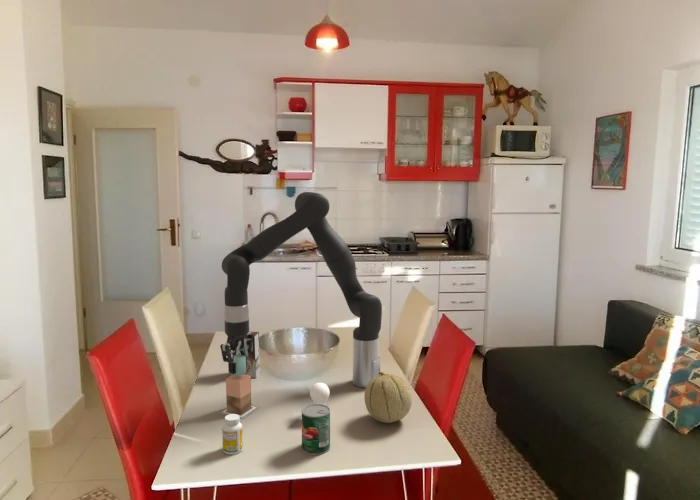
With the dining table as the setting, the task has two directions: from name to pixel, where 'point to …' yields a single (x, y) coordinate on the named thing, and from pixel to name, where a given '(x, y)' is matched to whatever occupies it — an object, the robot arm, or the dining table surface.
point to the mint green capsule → (240, 365)
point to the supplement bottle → (232, 434)
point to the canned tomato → (315, 429)
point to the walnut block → (238, 404)
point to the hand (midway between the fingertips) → (238, 370)
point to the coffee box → (253, 357)
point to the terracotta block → (238, 385)
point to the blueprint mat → (244, 415)
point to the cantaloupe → (388, 398)
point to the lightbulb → (319, 393)
